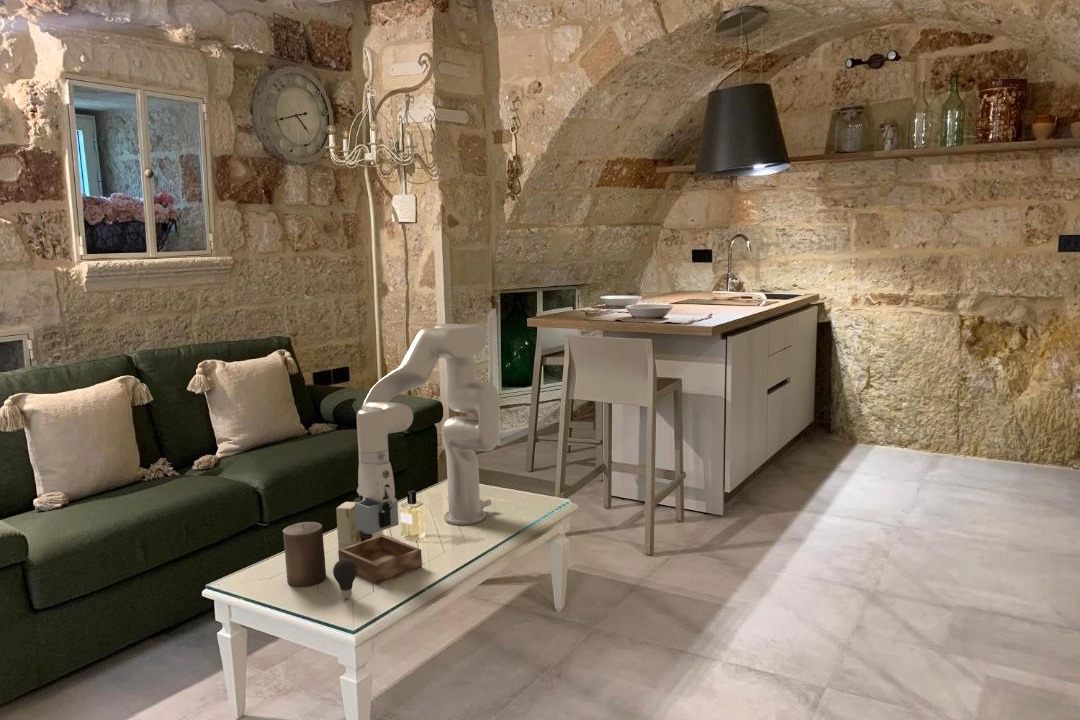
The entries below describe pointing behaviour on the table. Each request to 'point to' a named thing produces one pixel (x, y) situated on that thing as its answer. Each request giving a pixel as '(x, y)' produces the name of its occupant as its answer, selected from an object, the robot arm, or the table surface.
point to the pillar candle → (304, 554)
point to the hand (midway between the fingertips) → (377, 522)
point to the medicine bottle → (365, 535)
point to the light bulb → (345, 576)
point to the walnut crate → (382, 558)
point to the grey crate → (373, 516)
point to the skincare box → (347, 525)
